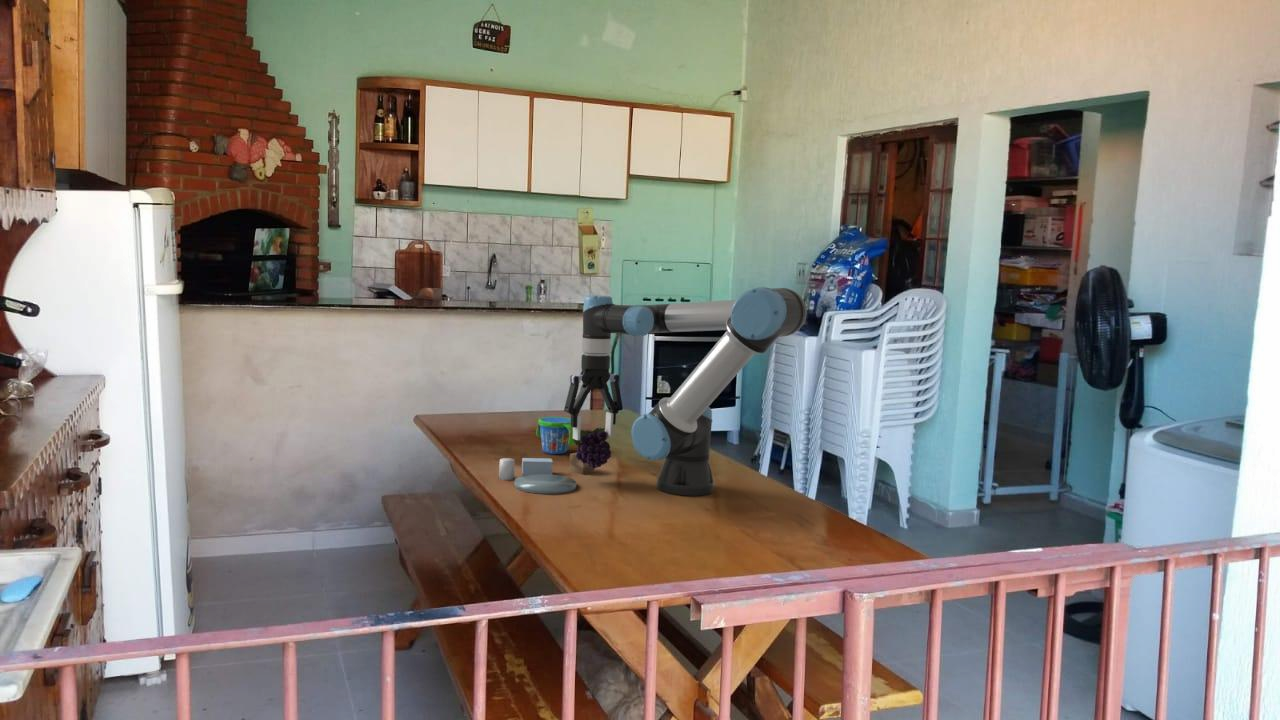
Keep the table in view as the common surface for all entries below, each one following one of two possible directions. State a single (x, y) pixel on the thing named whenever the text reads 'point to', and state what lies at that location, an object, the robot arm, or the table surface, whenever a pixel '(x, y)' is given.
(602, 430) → the fruit
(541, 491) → the plate
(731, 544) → the table surface
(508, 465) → the grey plastic peg
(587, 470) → the walnut block
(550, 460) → the dusty blue block
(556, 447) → the snack cup
